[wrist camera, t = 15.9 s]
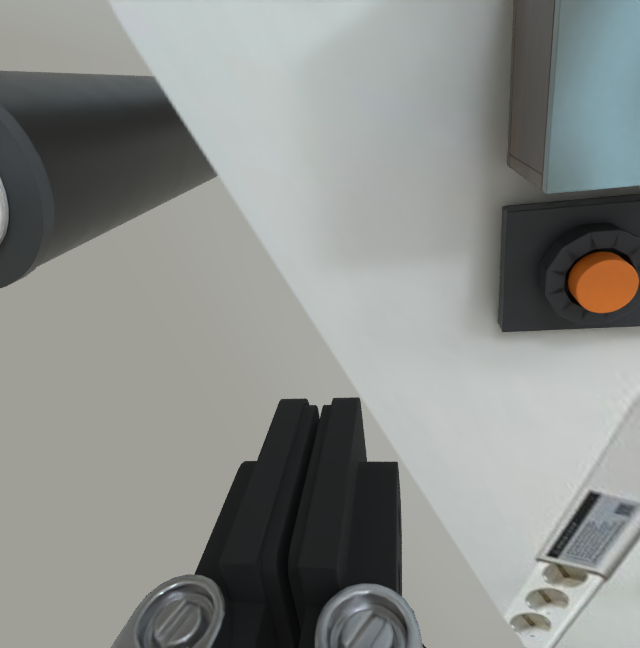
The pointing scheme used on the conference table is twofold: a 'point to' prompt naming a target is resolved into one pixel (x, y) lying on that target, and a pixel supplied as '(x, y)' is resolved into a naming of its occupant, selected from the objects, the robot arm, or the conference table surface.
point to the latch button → (603, 282)
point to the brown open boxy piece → (530, 86)
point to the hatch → (593, 97)
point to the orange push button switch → (563, 261)
